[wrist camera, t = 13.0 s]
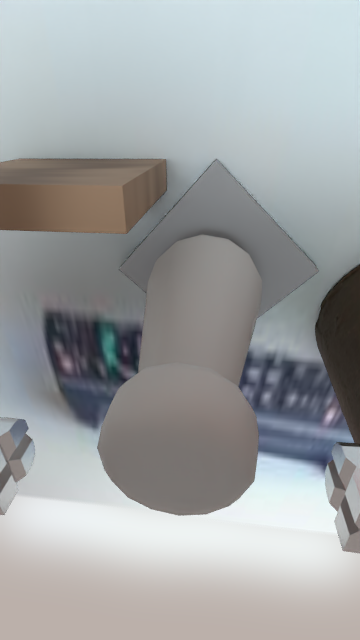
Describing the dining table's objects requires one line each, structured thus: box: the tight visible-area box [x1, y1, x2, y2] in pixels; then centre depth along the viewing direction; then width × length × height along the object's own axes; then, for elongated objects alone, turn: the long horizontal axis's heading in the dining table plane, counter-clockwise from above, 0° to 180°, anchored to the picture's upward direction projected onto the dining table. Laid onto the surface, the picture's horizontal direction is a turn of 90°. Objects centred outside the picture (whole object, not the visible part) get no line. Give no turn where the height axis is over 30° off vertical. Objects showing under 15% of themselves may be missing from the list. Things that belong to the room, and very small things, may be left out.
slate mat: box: [119, 159, 319, 318], centre depth 19 cm, size 8×8×1 cm
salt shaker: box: [97, 234, 262, 515], centre depth 14 cm, size 6×6×13 cm
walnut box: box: [0, 159, 167, 234], centre depth 15 cm, size 8×2×8 cm, turn 91°
